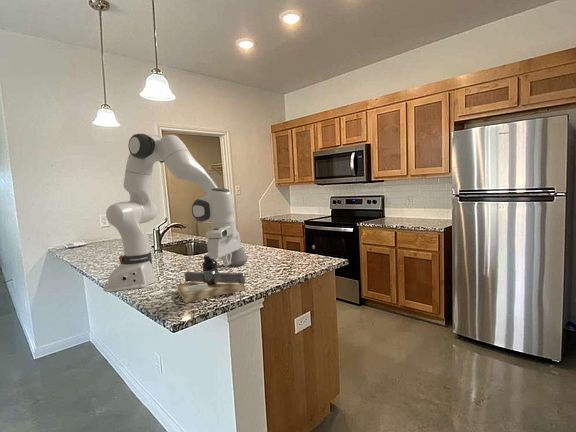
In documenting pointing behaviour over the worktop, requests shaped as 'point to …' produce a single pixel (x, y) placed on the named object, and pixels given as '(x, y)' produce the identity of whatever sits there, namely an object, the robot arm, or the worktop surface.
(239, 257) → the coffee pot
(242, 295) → the worktop surface
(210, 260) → the supplement bottle
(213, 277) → the dark grey bar
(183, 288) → the levelling stand
